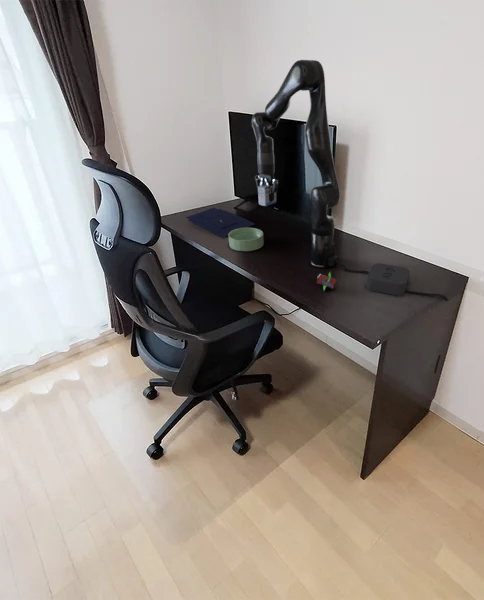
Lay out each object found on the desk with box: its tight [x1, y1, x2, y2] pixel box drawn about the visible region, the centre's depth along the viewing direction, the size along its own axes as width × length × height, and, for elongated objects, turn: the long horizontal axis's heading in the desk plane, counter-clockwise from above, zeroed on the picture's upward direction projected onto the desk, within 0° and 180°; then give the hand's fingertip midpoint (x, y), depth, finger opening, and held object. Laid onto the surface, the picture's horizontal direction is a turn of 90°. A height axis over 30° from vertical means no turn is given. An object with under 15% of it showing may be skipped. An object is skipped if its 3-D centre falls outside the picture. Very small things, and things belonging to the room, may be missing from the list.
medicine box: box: [257, 185, 277, 207], centre depth 172 cm, size 8×4×9 cm, turn 143°
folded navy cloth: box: [185, 207, 256, 239], centre depth 196 cm, size 24×30×4 cm
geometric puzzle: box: [316, 271, 338, 292], centre depth 139 cm, size 7×7×8 cm
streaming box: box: [365, 262, 411, 296], centre depth 142 cm, size 14×14×5 cm
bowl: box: [227, 227, 265, 252], centre depth 174 cm, size 16×16×6 cm
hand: (267, 199), depth 173 cm, fingers closed on medicine box, 4 cm apart
